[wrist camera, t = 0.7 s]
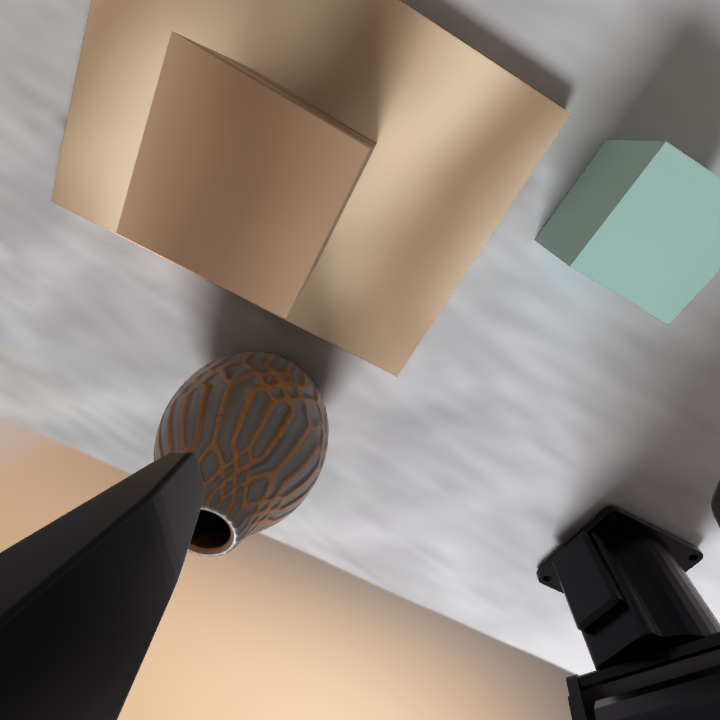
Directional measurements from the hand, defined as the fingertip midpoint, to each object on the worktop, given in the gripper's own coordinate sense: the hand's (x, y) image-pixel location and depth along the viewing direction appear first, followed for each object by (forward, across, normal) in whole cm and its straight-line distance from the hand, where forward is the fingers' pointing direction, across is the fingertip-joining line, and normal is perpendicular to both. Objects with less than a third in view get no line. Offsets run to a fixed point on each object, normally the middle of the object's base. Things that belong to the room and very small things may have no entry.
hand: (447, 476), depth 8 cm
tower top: (+9, +5, -4) cm, 11 cm away
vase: (+13, +7, +6) cm, 16 cm away
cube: (+13, -8, -2) cm, 15 cm away
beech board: (+13, +5, -5) cm, 14 cm away
